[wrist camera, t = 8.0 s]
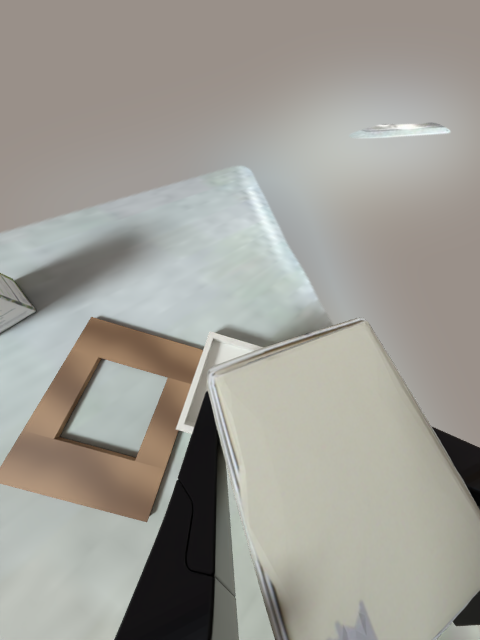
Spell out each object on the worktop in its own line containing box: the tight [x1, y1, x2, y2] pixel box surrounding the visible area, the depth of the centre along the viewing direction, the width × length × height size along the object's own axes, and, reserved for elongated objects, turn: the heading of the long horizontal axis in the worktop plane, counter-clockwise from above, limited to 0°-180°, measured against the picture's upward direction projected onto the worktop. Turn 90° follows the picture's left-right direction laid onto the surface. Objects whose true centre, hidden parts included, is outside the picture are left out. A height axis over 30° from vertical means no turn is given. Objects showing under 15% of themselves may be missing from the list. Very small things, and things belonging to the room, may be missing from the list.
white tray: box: [176, 332, 263, 434], centre depth 19 cm, size 10×10×2 cm
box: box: [206, 318, 480, 640], centre depth 9 cm, size 5×4×13 cm
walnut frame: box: [0, 317, 203, 522], centre depth 18 cm, size 16×14×1 cm
